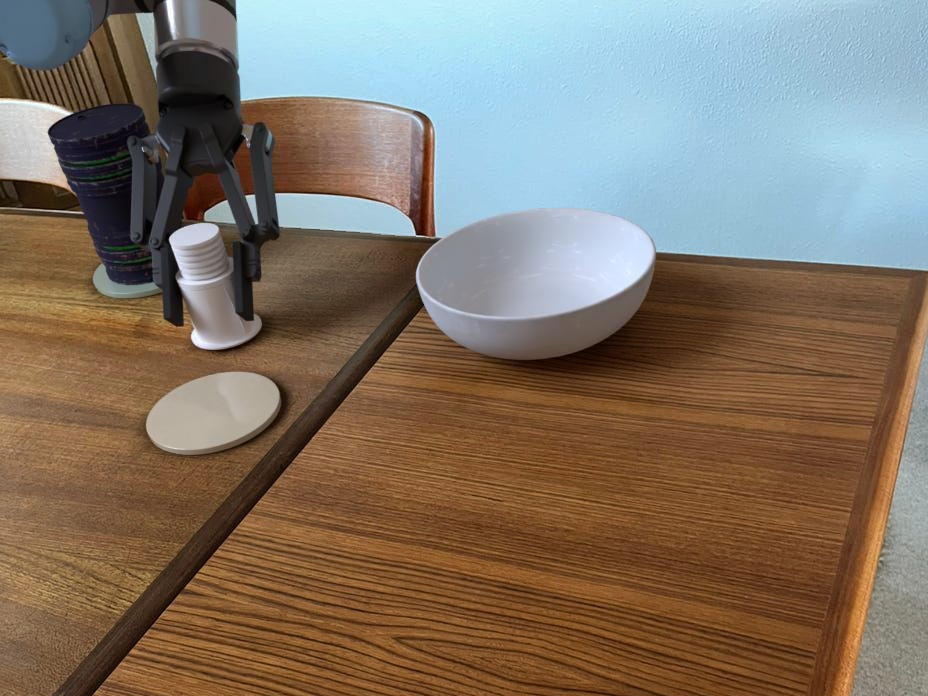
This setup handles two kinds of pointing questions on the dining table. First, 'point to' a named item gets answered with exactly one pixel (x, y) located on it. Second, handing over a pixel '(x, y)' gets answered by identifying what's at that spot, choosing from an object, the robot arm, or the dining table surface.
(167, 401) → the near coaster
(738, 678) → the dining table surface
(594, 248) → the serving bowl
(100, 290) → the far coaster
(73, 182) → the storage jar
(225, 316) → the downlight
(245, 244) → the robot arm
